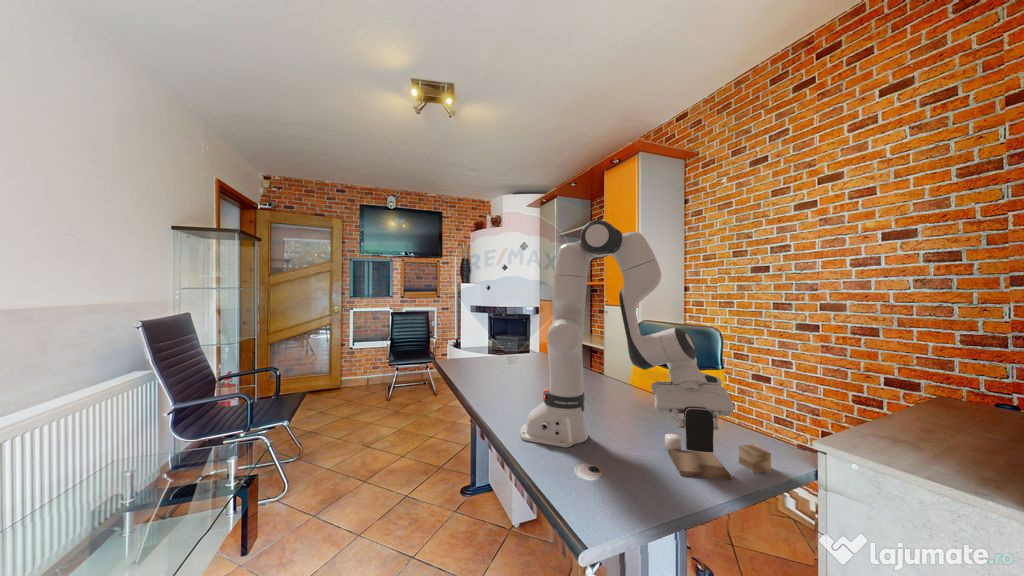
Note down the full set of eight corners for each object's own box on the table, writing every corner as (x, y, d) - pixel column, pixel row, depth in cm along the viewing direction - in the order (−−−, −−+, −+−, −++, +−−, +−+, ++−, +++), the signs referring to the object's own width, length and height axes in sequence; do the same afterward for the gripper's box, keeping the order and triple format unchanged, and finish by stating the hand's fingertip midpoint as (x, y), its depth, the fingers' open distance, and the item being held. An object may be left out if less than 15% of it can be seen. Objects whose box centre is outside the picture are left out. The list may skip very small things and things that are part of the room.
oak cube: (753, 472, 89) (753, 454, 89) (738, 463, 94) (738, 445, 94) (770, 472, 90) (770, 453, 90) (755, 462, 95) (755, 444, 95)
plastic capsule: (667, 452, 100) (667, 439, 100) (663, 446, 105) (663, 433, 105) (683, 454, 100) (683, 440, 100) (678, 447, 104) (678, 434, 104)
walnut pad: (680, 475, 88) (680, 470, 88) (668, 453, 100) (668, 448, 100) (730, 479, 86) (730, 475, 86) (712, 456, 98) (712, 452, 98)
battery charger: (710, 447, 94) (709, 406, 94) (714, 453, 90) (714, 410, 90) (682, 444, 96) (682, 404, 96) (686, 450, 92) (685, 408, 92)
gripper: (651, 375, 102) (659, 420, 92) (726, 378, 98) (743, 425, 88) (648, 386, 106) (656, 430, 97) (720, 389, 102) (735, 435, 93)
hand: (698, 428), depth 92 cm, fingers closed on battery charger, 7 cm apart
